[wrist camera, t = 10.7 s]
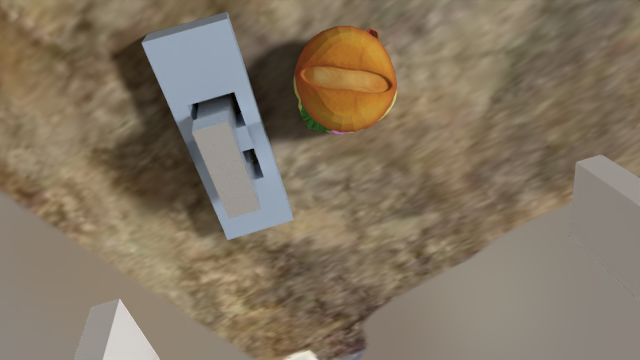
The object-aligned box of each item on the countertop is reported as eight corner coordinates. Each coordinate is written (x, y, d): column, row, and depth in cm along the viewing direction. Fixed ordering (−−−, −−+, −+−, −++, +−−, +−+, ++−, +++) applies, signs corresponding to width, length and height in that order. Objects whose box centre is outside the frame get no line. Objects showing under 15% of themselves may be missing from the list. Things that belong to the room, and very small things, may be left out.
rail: (147, 33, 40) (141, 42, 38) (227, 11, 41) (227, 18, 38) (227, 221, 52) (227, 239, 49) (289, 203, 52) (293, 220, 49)
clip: (197, 93, 44) (191, 131, 36) (227, 85, 44) (227, 121, 36) (227, 169, 49) (228, 218, 41) (254, 161, 49) (260, 209, 41)
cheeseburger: (318, 145, 49) (325, 171, 40) (272, 55, 46) (267, 60, 37) (401, 104, 48) (429, 120, 39) (360, 9, 45) (379, 2, 36)
